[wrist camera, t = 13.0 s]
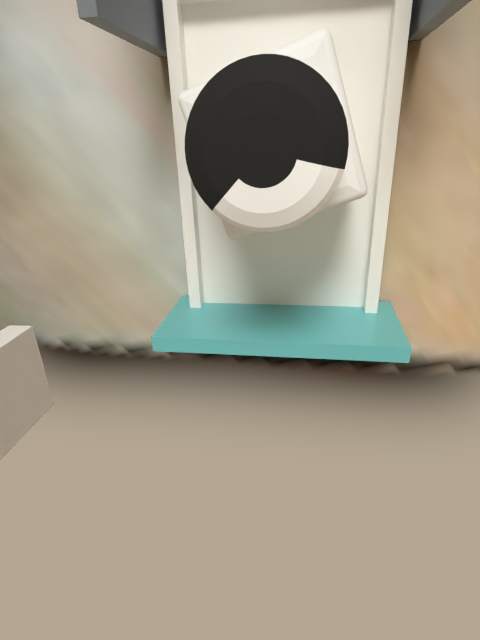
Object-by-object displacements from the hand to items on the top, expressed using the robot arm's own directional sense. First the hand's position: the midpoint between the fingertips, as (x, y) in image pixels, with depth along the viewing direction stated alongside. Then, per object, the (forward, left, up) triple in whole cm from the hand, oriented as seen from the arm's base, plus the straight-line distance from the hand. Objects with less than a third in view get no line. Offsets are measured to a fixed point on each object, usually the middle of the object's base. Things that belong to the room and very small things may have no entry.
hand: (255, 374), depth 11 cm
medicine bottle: (0, +5, -18) cm, 19 cm away
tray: (0, +5, -19) cm, 20 cm away
